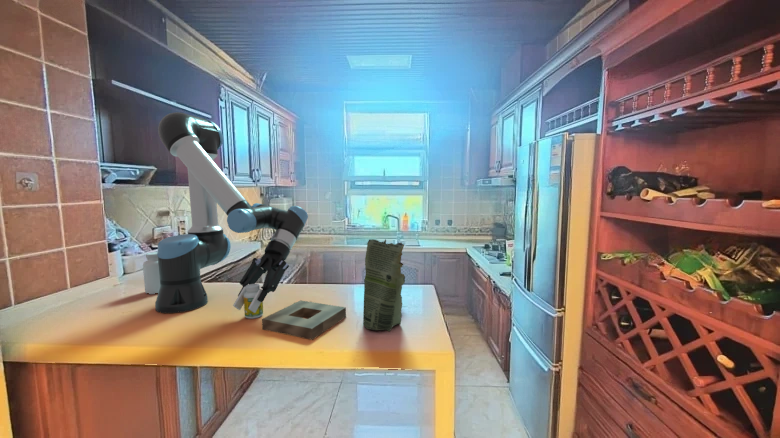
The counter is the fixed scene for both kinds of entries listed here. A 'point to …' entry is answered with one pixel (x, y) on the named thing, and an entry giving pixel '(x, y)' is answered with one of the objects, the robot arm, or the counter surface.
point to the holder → (296, 325)
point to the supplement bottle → (248, 298)
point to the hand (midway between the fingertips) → (244, 309)
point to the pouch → (383, 285)
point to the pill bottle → (151, 273)
